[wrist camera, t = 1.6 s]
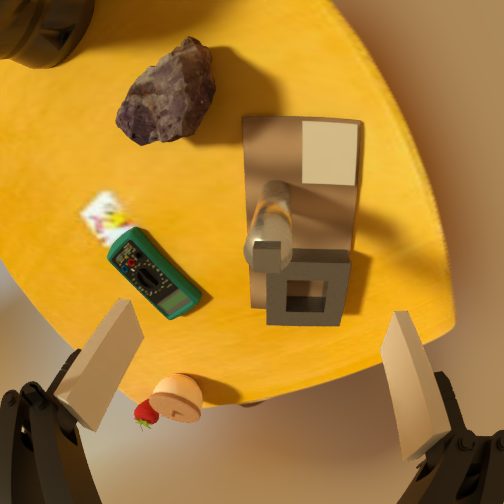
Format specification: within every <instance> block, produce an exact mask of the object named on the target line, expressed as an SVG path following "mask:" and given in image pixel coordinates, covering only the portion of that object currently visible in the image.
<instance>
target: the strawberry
mask: <svg viewBox="0 0 504 504" xmlns="http://www.w3.org/2000/svg"><path fill="white" fill-rule="evenodd" d="M149 399H150V398H149ZM149 399H147V400H145V401H144V402H142V403H141V404H139V405H138V406H137V408H136V409H135V411H134V415H135V418H134V419H135V420H137V421H138V422H136V423H139V424H144V425H145V426H146V427H148V428H150V427H149V426H148V425H152V424H154V423H156V422H157V421H158V419H159V413H158V412H156V411H155V410H154V409H153V408H152V407H151V405H150V403H149Z"/></svg>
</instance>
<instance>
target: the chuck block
mask: <svg viewBox="0 0 504 504" xmlns="http://www.w3.org/2000/svg"><path fill="white" fill-rule="evenodd" d="M351 264H352V263H351V260H350V258H349V255H348V252H347V250H344V249H304V248H292V259H291V261H290V263H289V264H288V265H287V266H286V267H285V268H284V269H283V270H281V271H280V273H266V308H267V325H280V326H340V322H341V317H342V312H343V308H344V303H345V297H346V292H347V287H348V281H349V276H350V270H351ZM287 280H304V281H324V284H323V291H322V297H312V296H287Z"/></svg>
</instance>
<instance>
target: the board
mask: <svg viewBox="0 0 504 504" xmlns="http://www.w3.org/2000/svg"><path fill="white" fill-rule="evenodd" d="M302 121H316V122H333V123H346V124H357V125H358V126H357V155H356V172H355V186H353V185H335V184H311V183H302V150H303V136H302ZM242 124H243V147H244V169H245V191H246V212H247V233H248V232H249V229H250V226H251V223H252V219H253V216H254V213H255V210H256V206H257V203H258V200H259V197H260V193H261V190H262V188H263V186H264V185H265V184H266V183H267V182H269V181H271V180H280V181H283V182H284V183H286V184H287V185H288V187H289V189H290V192H291V217H292V248H304V249H344V250H347V252H348V255H350V248H351V240H352V233H353V224H354V216H355V206H356V196H357V184H358V170H359V153H360V124H361V121H360V120H351V119H339V118H324V117H301V116H256V117H242ZM249 274H250V294H251V308H257V309H267V308H266V273H254V270H253V268H252V267H251V266H250V265H249ZM323 284H324V281H304V280H287V296H312V297H322V291H323Z"/></svg>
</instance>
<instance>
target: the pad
mask: <svg viewBox="0 0 504 504" xmlns="http://www.w3.org/2000/svg"><path fill="white" fill-rule="evenodd" d="M357 126H358V125H357V124H346V123H333V122H316V121H302V136H303V150H302V183H311V184H335V185H353V186H355V172H356V155H357Z"/></svg>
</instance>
